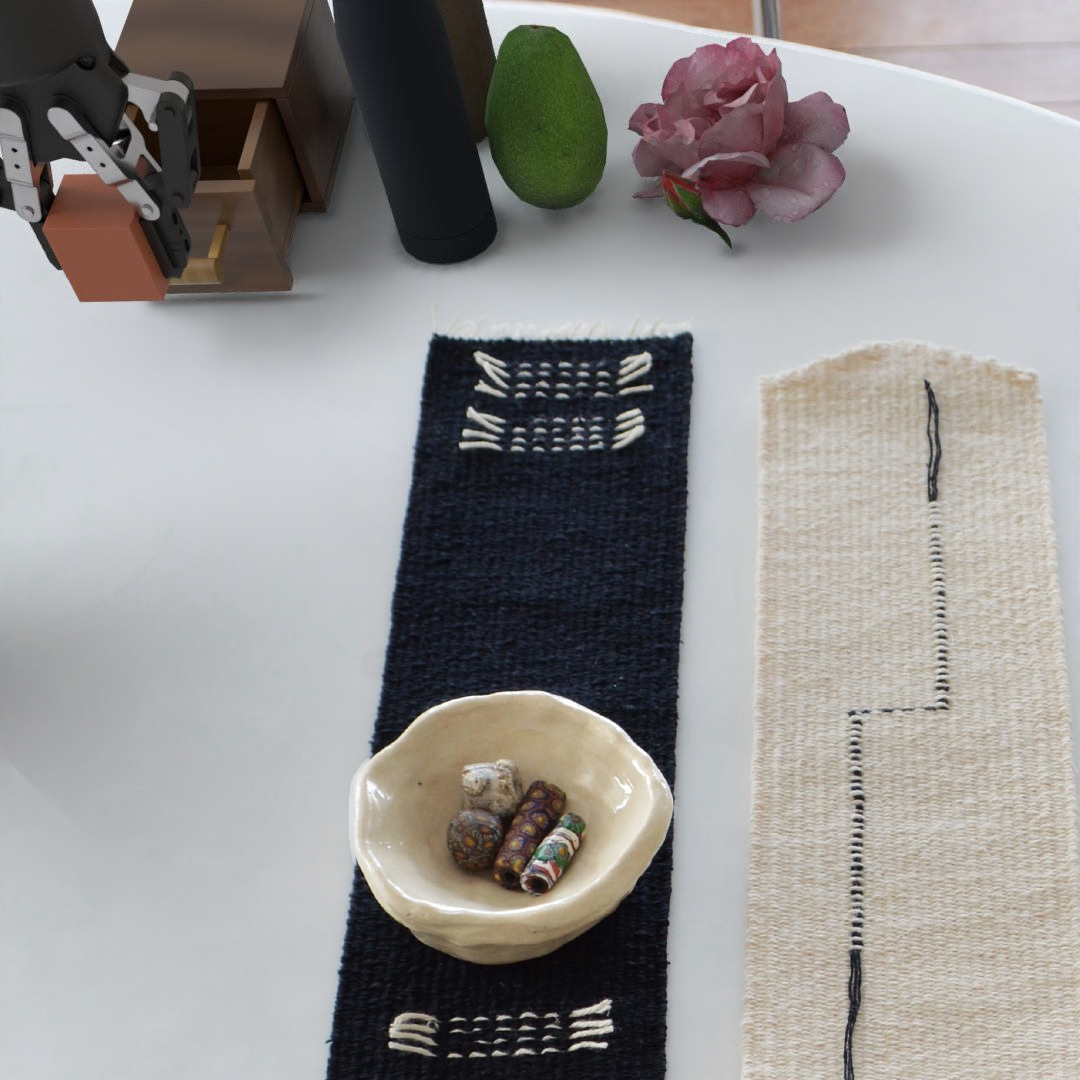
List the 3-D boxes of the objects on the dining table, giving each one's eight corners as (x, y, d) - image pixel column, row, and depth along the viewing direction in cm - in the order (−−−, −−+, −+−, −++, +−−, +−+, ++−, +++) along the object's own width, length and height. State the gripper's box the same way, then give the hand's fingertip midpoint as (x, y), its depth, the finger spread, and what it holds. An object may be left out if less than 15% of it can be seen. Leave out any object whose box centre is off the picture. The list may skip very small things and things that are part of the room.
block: (79, 302, 91) (41, 229, 87) (99, 247, 93) (63, 173, 90) (164, 301, 91) (129, 227, 87) (182, 246, 93) (149, 172, 89)
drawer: (279, 341, 110) (238, 241, 104) (113, 345, 110) (63, 245, 104) (321, 170, 119) (287, 68, 113) (168, 173, 119) (125, 72, 113)
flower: (860, 92, 120) (809, -33, 111) (863, 254, 114) (808, 136, 106) (661, 147, 124) (597, 31, 115) (654, 308, 118) (585, 197, 109)
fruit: (636, 214, 118) (606, 44, 108) (524, 247, 116) (482, 77, 106) (597, 149, 122) (564, -22, 112) (488, 180, 120) (444, 9, 110)
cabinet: (327, 212, 118) (283, 86, 111) (155, 216, 118) (98, 90, 111) (356, 91, 126) (317, -35, 118) (193, 95, 125) (143, -31, 118)
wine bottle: (493, 263, 116) (360, -234, 90) (395, 266, 115) (235, -231, 90) (502, 202, 119) (377, -295, 93) (407, 204, 119) (256, -292, 93)
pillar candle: (536, 109, 124) (488, -110, 112) (429, 174, 121) (367, -45, 108) (446, 56, 128) (390, -162, 115) (340, 118, 124) (269, -101, 111)
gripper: (152, -108, 79) (278, 222, 94) (-163, -103, 79) (12, 226, 94) (113, -13, 75) (251, 315, 90) (-219, -8, 75) (-27, 319, 90)
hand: (128, 268), depth 92 cm, fingers closed on block, 4 cm apart
